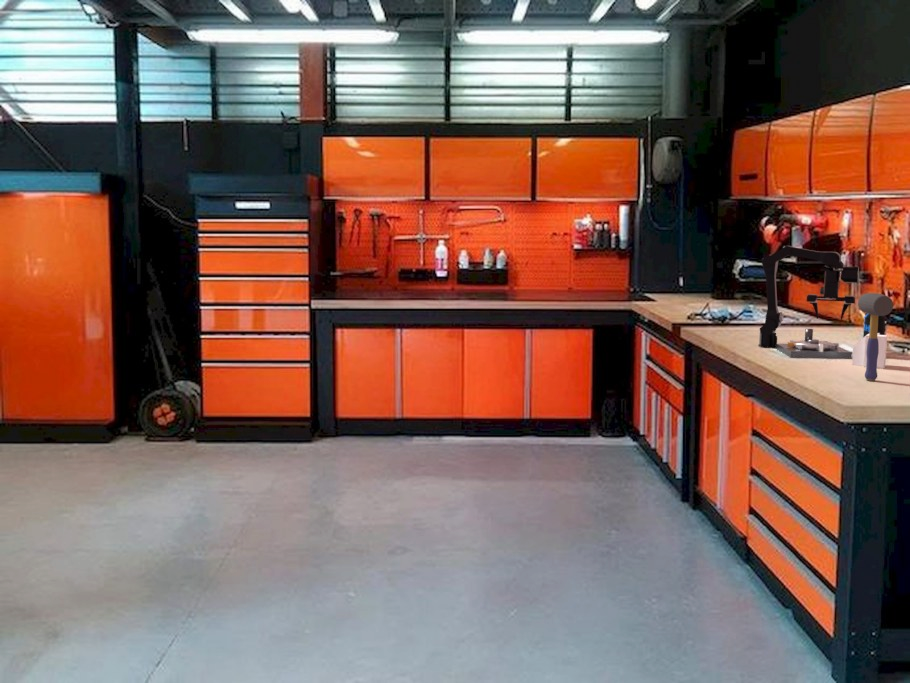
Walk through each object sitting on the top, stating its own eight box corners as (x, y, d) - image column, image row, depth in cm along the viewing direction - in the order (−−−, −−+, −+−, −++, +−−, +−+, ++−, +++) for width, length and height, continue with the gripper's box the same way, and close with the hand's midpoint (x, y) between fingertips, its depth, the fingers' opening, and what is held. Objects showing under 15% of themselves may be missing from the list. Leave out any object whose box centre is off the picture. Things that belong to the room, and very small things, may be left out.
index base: (790, 357, 378) (791, 343, 377) (775, 349, 401) (776, 336, 400) (851, 358, 376) (852, 344, 375) (833, 350, 399) (834, 337, 398)
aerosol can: (882, 355, 385) (885, 306, 382) (884, 358, 377) (887, 308, 375) (860, 354, 387) (863, 305, 385) (862, 357, 380) (865, 307, 377)
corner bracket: (883, 368, 350) (885, 336, 349) (850, 366, 356) (852, 334, 354) (887, 365, 359) (889, 333, 357) (855, 362, 365) (857, 331, 363)
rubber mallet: (851, 377, 330) (856, 291, 326) (872, 377, 330) (878, 291, 326) (868, 383, 318) (873, 294, 314) (890, 383, 318) (896, 294, 314)
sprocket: (845, 350, 377) (846, 334, 376) (794, 349, 379) (795, 333, 378) (830, 344, 397) (831, 328, 396) (782, 343, 399) (782, 327, 398)
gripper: (855, 281, 398) (852, 318, 400) (808, 280, 405) (805, 316, 407) (856, 283, 388) (853, 321, 390) (807, 281, 395) (805, 318, 397)
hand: (829, 319), depth 396 cm, fingers open, 9 cm apart
